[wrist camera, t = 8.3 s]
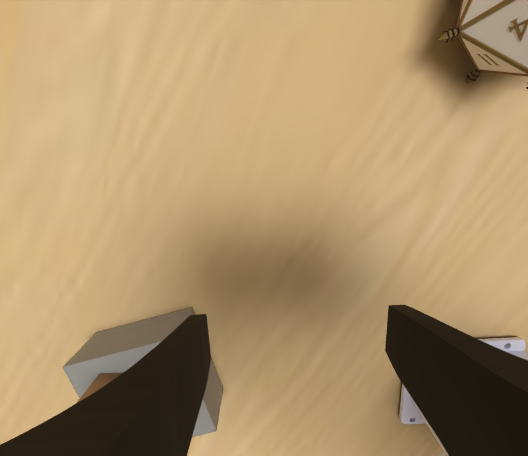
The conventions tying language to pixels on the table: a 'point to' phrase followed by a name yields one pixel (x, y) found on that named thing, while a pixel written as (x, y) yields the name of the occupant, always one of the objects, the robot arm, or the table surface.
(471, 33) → the game die
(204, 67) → the table surface
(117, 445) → the robot arm
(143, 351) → the grey square block
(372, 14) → the table surface
